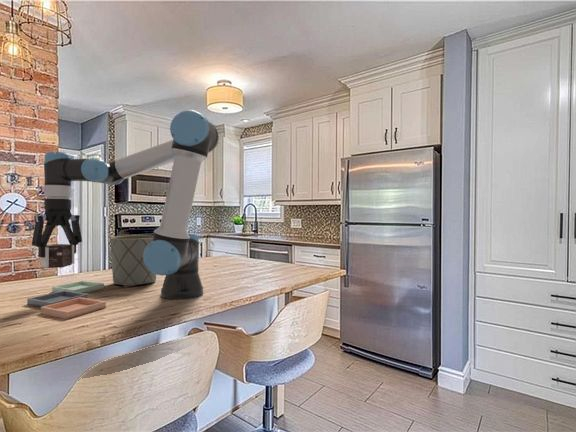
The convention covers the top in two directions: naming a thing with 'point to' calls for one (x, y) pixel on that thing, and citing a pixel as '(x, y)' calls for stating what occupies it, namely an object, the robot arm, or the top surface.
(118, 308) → the top surface
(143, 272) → the planter
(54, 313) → the tray
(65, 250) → the box
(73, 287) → the tray
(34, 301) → the tray
